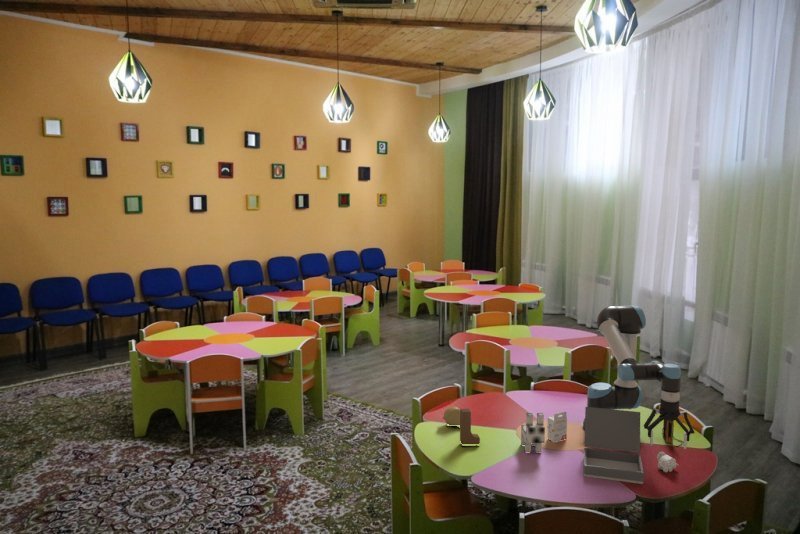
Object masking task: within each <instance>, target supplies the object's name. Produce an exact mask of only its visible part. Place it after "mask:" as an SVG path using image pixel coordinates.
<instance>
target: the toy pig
mask: <svg viewBox="0 0 800 534" xmlns="http://www.w3.org/2000/svg"><path fill="white" fill-rule="evenodd" d="M460 409H461V408H459V407H457V406H454V405H453V406H450V407H448V408H446V409H445V411H444V413H443V417H442V420H444V421H445V424H446V425H447V424H449V425H460Z"/></svg>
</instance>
